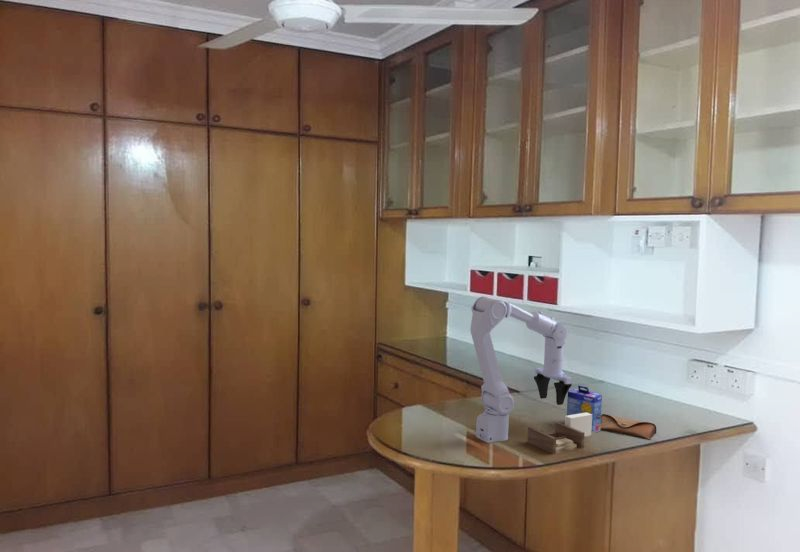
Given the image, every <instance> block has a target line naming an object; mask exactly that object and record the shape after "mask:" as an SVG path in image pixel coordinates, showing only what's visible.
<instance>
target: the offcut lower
mask: <svg viewBox="0 0 800 552" xmlns="http://www.w3.org/2000/svg"><path fill="white" fill-rule="evenodd" d="M576 447H577V444H575V443H573V445H568V446H563V447H556V452H558V451H563V450H568V449H572V448H576Z"/></svg>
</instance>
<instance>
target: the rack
mask: <svg viewBox="0 0 800 552" xmlns="http://www.w3.org/2000/svg"><path fill="white" fill-rule="evenodd" d="M563 438H567V439H569V440H572V441H573V443H575V444H577V447H576V448H572V449H568V450H563V451H558V452H556V440H558V439H563ZM526 441H527V442H526V443H529V444H531V445H532V446H535V447H537V448H539V449H541V450H544V451H545V452H548V453H550V454H552V455H555V454H561V453H565V452H569V451H574V450H580V449H584V447H585V437H584V432H581V431H579V430H576V429H574V428H572V427H569V426H567V425H565V423H562V422H558V421H556V422H555V431H553V432H549V433H546V432H543V431H541V430H539V429H536V428H535V427H532V426H527V440H526Z"/></svg>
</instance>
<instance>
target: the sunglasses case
mask: <svg viewBox="0 0 800 552" xmlns="http://www.w3.org/2000/svg"><path fill="white" fill-rule="evenodd" d="M600 431H604V432H609V433H614V434H615V433H616V434H619V433H620V434H619V435H624V434H625V436H629V435H630V437H635V438H639V439H643V440H644V439H646V440H648V441H649V440H650V441H651V440H652V438H653V437H654V436H655V435H656V434H657V426H656V424H655V423H652V422H649V421H639V420H634V419H630V418H625V417H624V418H623V417H618V416H612V415H610V414H607V413H606V414H605V413H601V430H600Z"/></svg>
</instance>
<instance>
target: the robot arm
mask: <svg viewBox="0 0 800 552" xmlns="http://www.w3.org/2000/svg"><path fill="white" fill-rule="evenodd" d="M470 310H471V312H472V316H471V323H470V328H469V330H470V335H471V338H472V342H473V346H474V350H475V353H476V357H477V362H478V364H479V368H480V371H481V377H482V380H483V384H481V397H480V398H481V402H482V404H483V406H484V411H483V412H482V413H480V414H479V415H477V417H476V421H475V422H476V424H475V425H476V427H475V437H476V438H477V439H479V440H481V441H483V442H485V443H487V444H488V443H494V442H495V443H496V442H504V441H508V439H509V423H510V421H509V420H510V413H511V412H512V411H513V409H514V407H515V399H514V397H513V395H511V394H510V391H509V388H508V387H507V386H506V384H505V383H504V382H503V381H504V380H503V379H502V376H501V371H500V368H499V364H498V359H497V357H496V352H495V349H494V345H493V340H492V336H491V332H492V330H493V329H494V328H496V326H498V324H500V322H502V321H503V320H504V319H505V318H507V319H508V318H509V317H510V318H511V317H512V318H514V319H516V320H519V321H521V322H523V323H525V326H526V327H527V329H528V330H531V331H533V332H535V333H536V334H537V333H538V334H540V335H542V336H543V337H544V354H543V356H544V357H543V368H542V367H535V368H534V374H535V376H533V379H534V381H535V383H536V386H537V390H538V394H539V399H541V400H543V399H547V397H548V389H549V384H550V380H554V381H558V382H553V385H554V389H555V396H556V399H555V403H556V406H557V405H558V406H560V405H564V402H565V399H566V396H567V395H568V391H569V390H570V388H571V387H572V385H573V384H572V377H571V376H568V375H567V374H565V372H564V371H563V362H564V345H565V343H566V342H565V341H566V339H567V338H568V335H569V331H568V328H567V326H566V325H565V324H564V323H562V322H560V321H556V320H555V318H553V317H549V316H547V315H544V312H543V311H539V310H538V311H533V312H528V311H526V310H525V309H523V308H520V307H519V306H517V305H514V304H512V303H511V302H507V301H503V300H501V299H495V298H490V297H488V296H479V297H478V298H476V300H475V301H474V303H473V305H472V306H471V309H470Z"/></svg>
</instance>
